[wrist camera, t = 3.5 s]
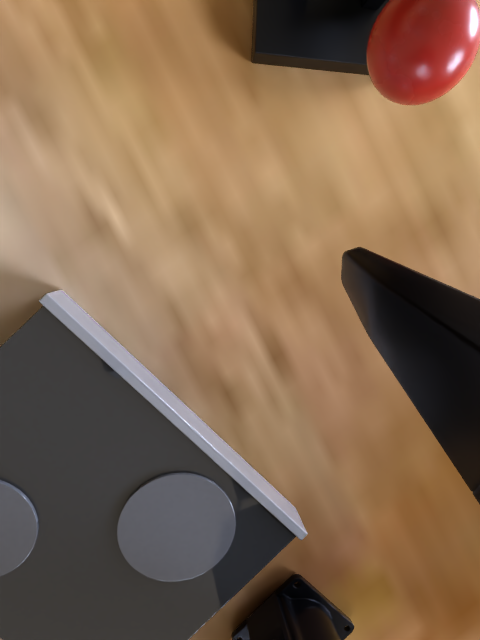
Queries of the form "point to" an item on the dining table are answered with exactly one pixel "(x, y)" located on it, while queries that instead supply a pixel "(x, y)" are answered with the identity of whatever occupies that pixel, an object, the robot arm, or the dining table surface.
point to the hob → (117, 494)
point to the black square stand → (314, 33)
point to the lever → (422, 48)
